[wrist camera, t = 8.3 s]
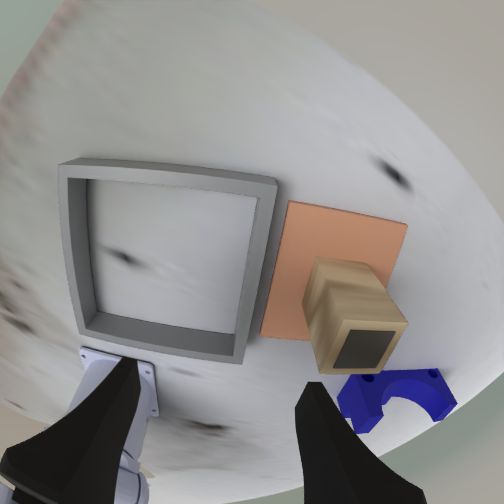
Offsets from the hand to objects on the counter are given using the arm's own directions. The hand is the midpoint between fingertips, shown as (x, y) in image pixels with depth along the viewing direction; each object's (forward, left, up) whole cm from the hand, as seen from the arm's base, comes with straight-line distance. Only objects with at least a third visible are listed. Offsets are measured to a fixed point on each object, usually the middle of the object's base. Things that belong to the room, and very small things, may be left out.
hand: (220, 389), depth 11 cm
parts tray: (0, +5, -10) cm, 11 cm away
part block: (0, -8, -10) cm, 12 cm away
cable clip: (-12, -19, -11) cm, 25 cm away
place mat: (0, -7, -10) cm, 13 cm away
